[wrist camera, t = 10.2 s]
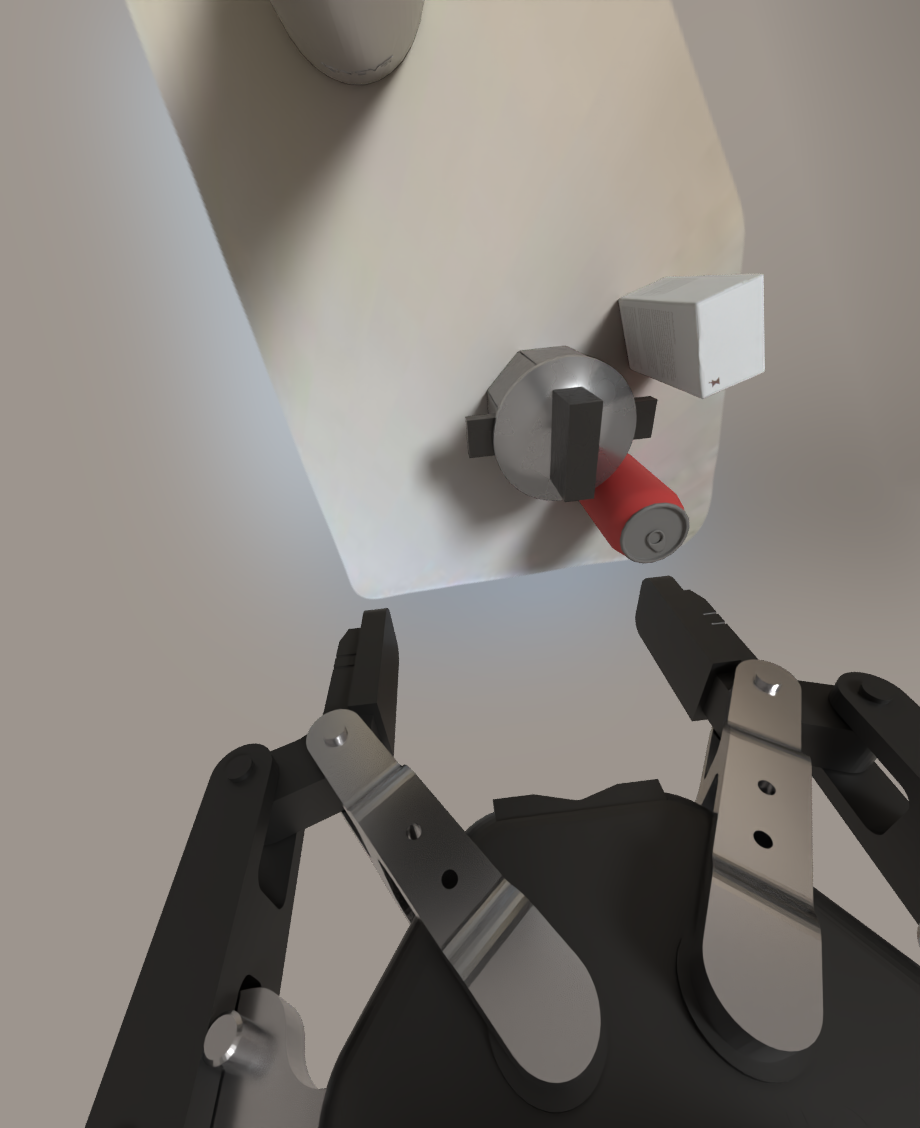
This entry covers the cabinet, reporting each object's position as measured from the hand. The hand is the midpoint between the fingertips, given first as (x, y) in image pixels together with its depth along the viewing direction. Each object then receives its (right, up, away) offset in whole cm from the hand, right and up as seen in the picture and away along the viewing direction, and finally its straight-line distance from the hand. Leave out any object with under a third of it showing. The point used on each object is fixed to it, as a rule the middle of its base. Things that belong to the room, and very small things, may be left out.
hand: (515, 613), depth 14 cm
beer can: (+13, +11, +31) cm, 35 cm away
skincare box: (+14, +22, +23) cm, 35 cm away
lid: (+6, +12, +20) cm, 25 cm away
